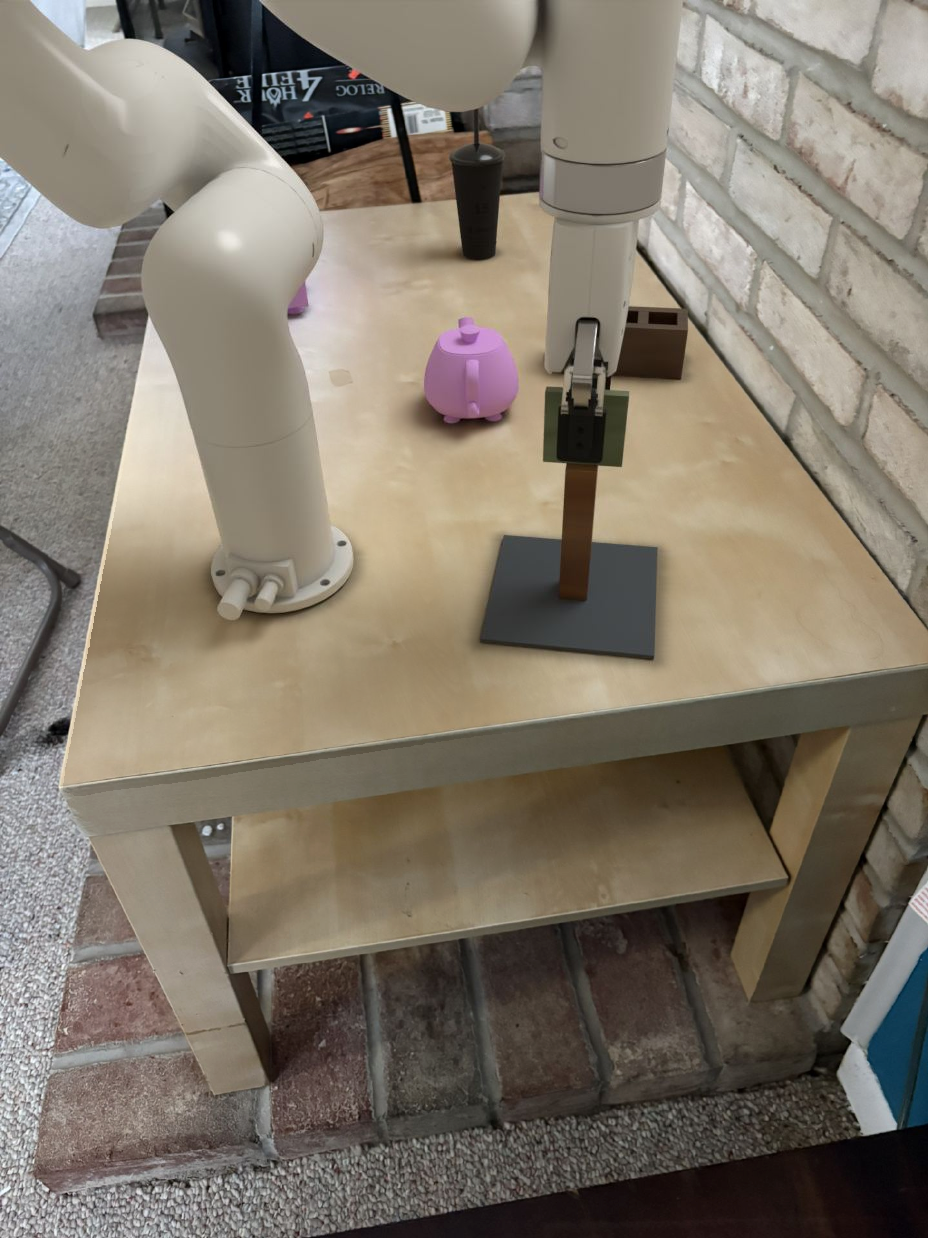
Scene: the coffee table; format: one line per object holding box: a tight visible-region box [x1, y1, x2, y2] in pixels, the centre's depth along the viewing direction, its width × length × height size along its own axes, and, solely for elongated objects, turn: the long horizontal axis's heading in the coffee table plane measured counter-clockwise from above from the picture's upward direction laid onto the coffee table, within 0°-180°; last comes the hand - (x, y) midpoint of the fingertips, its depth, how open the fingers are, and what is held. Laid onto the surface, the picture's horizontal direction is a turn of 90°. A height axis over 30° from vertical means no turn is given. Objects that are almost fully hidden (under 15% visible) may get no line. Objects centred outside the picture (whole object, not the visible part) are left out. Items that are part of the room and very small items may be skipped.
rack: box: [561, 305, 689, 380], centre depth 107 cm, size 6×14×6 cm, turn 80°
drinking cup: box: [448, 108, 506, 261], centre depth 129 cm, size 8×8×20 cm
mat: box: [479, 534, 658, 660], centre depth 79 cm, size 14×14×1 cm
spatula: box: [542, 385, 630, 601], centre depth 72 cm, size 2×6×19 cm, turn 80°
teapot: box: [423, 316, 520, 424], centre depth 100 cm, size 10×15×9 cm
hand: (584, 423), depth 68 cm, fingers open, 9 cm apart
